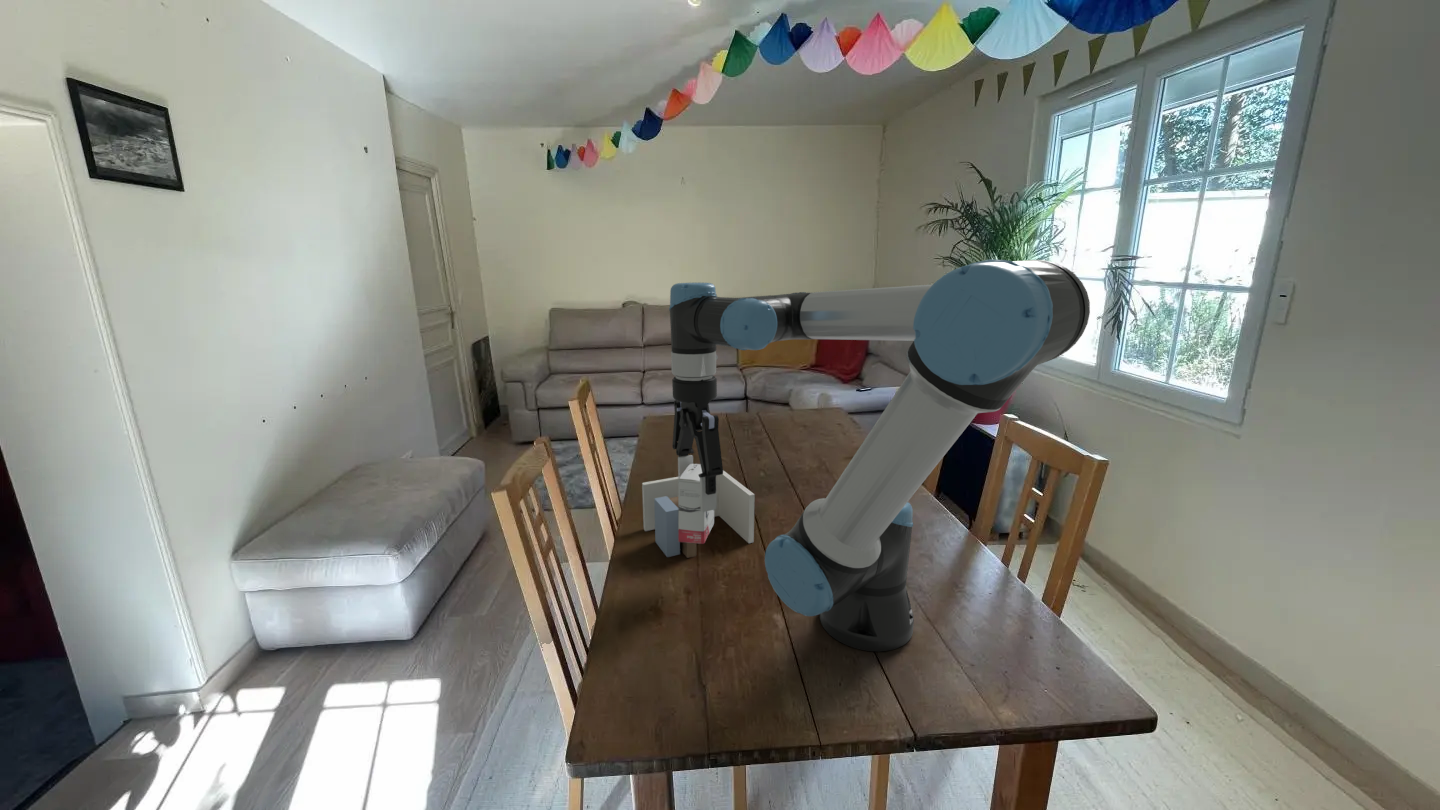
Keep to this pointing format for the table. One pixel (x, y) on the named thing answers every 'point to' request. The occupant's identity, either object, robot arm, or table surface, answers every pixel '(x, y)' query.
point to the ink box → (692, 508)
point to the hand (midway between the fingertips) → (696, 499)
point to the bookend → (685, 547)
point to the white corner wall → (663, 513)
